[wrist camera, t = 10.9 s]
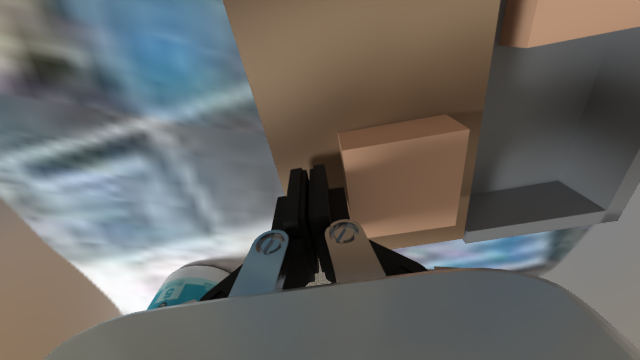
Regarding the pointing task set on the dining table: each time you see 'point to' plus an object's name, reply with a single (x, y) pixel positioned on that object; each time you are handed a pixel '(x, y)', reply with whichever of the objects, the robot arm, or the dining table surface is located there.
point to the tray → (557, 136)
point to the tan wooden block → (364, 77)
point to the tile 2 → (564, 20)
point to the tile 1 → (404, 174)
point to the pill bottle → (187, 285)
